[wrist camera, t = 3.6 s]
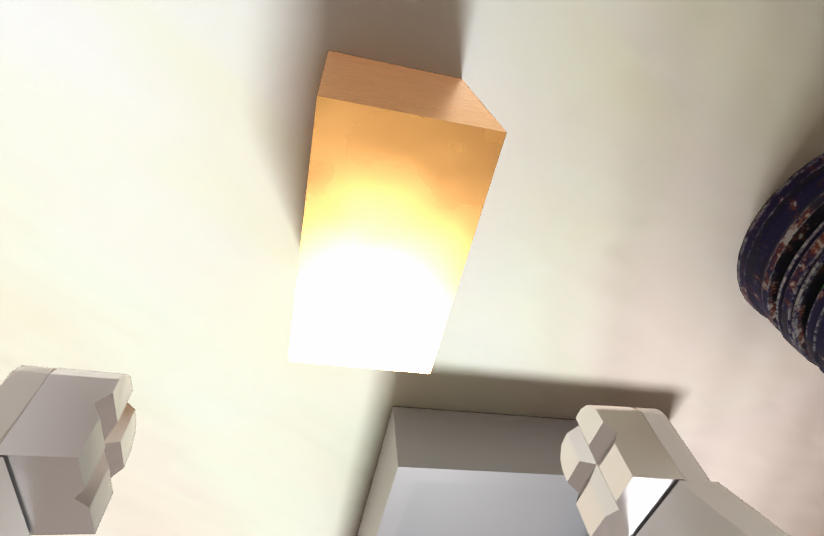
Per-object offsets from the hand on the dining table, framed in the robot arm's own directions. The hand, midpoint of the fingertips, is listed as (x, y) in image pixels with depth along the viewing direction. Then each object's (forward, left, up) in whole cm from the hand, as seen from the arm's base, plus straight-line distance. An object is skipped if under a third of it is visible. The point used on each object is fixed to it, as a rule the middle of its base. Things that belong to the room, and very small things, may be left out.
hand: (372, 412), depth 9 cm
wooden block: (0, 0, -11) cm, 11 cm away
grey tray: (-11, +20, -11) cm, 26 cm away
